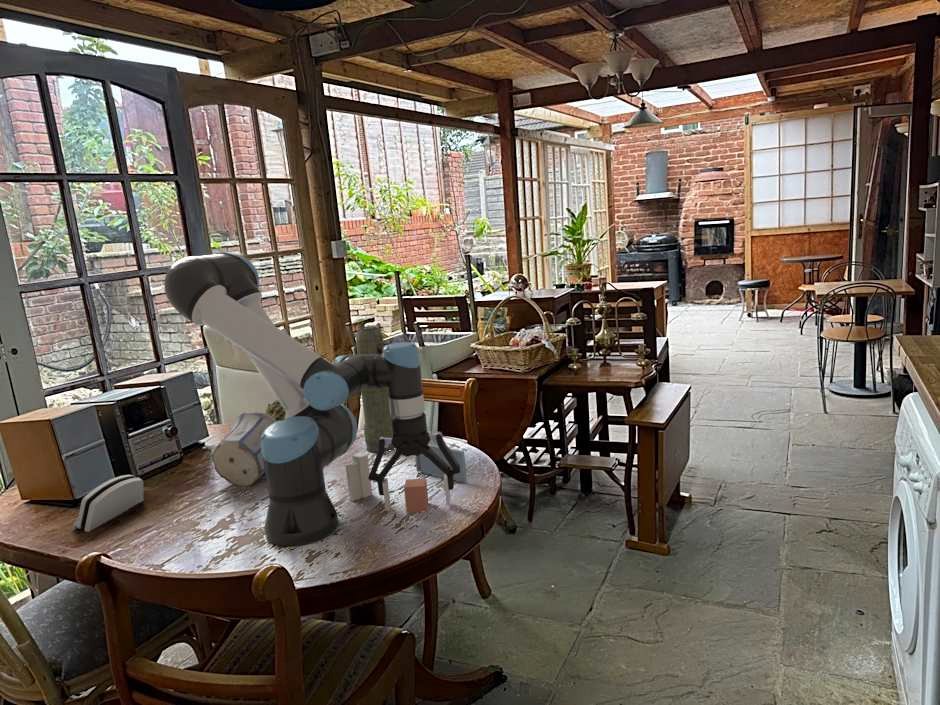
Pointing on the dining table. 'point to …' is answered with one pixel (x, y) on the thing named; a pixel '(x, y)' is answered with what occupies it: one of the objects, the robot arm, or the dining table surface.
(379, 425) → the thermos
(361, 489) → the doorframe
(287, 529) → the robot arm
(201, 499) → the dining table surface
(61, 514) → the dining table surface
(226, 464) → the potted plant
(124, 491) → the white napkin holder
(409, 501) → the reddish brown block
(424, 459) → the door
